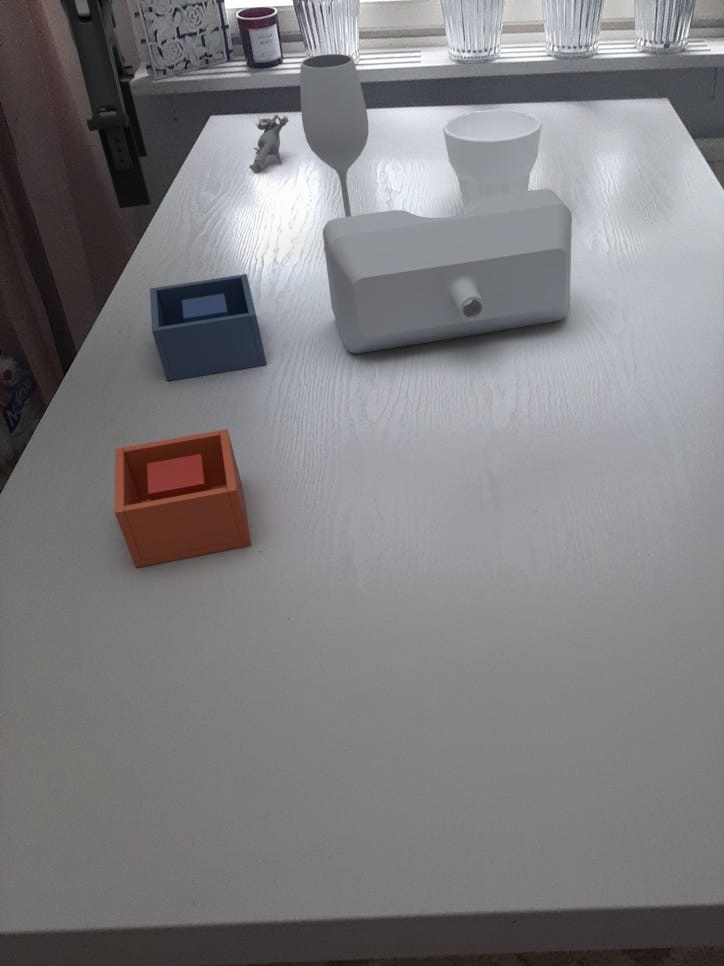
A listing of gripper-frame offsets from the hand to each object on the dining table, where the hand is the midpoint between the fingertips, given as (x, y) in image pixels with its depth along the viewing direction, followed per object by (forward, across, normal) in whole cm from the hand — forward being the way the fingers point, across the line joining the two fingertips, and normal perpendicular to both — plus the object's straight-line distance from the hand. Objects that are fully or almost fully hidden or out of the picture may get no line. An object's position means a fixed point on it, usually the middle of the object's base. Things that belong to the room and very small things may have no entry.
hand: (134, 180), depth 91 cm
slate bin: (+18, 0, -4) cm, 19 cm away
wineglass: (+18, +22, -23) cm, 37 cm away
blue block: (+18, 0, -4) cm, 18 cm away
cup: (+18, +26, -43) cm, 53 cm away
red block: (+18, -30, +1) cm, 35 cm away
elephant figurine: (+18, +58, -17) cm, 63 cm away
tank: (+18, -5, -30) cm, 35 cm away
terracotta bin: (+18, -31, +1) cm, 36 cm away
